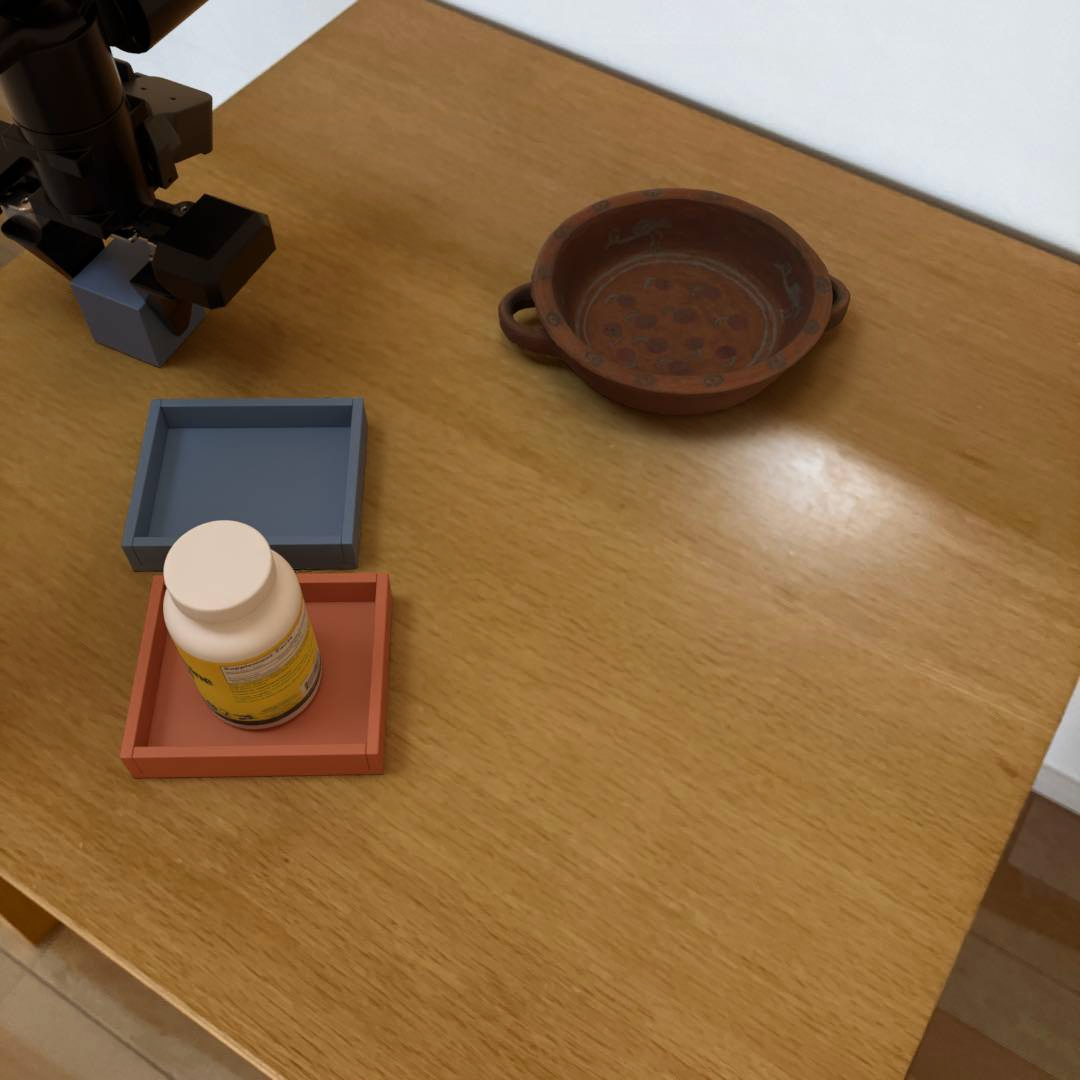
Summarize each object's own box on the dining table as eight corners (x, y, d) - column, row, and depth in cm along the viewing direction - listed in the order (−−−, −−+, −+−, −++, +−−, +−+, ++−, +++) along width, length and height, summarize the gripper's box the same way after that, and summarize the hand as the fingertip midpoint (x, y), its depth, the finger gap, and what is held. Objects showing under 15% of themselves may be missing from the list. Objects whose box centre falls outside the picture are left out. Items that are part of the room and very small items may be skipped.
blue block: (160, 368, 71) (138, 310, 67) (94, 341, 73) (68, 282, 68) (206, 315, 74) (188, 256, 70) (142, 290, 75) (120, 230, 71)
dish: (878, 430, 70) (901, 375, 66) (514, 460, 68) (514, 405, 64) (807, 233, 79) (823, 173, 75) (486, 254, 78) (485, 195, 73)
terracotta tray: (133, 778, 57) (118, 758, 55) (165, 599, 62) (153, 574, 60) (383, 774, 57) (378, 754, 55) (392, 596, 63) (388, 572, 61)
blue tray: (133, 571, 63) (120, 546, 61) (162, 426, 69) (151, 398, 67) (357, 568, 64) (352, 543, 62) (367, 424, 69) (363, 397, 67)
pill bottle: (189, 648, 60) (131, 528, 51) (305, 610, 62) (268, 487, 52) (217, 752, 57) (160, 644, 48) (338, 709, 58) (306, 597, 49)
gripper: (307, 65, 61) (342, 283, 74) (24, -26, 66) (104, 195, 79) (183, 190, 56) (245, 402, 69) (-118, 81, 60) (-6, 300, 73)
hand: (146, 317), depth 72 cm, fingers closed on blue block, 5 cm apart
